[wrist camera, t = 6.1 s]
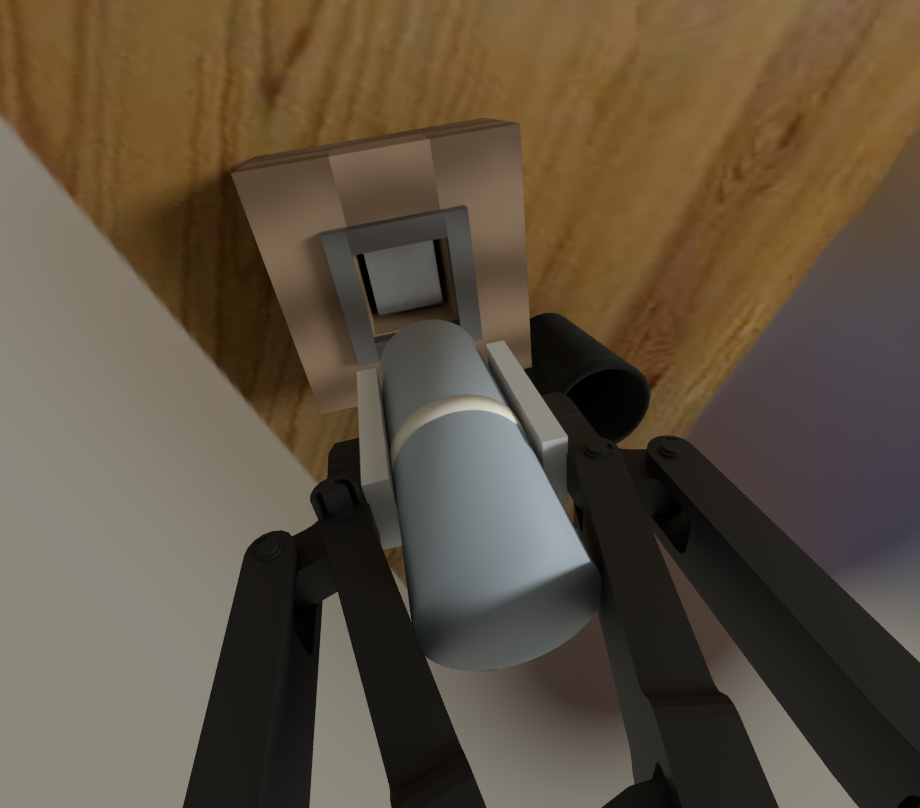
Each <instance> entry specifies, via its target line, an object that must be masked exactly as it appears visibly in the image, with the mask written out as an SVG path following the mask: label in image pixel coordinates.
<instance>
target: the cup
mask: <svg viewBox="0 0 920 808" xmlns="http://www.w3.org/2000/svg"><path fill="white" fill-rule="evenodd" d="M530 338H531V358H532V367H530V368H526V369H525V372H526V374H527V376H528V377H529V379H530V380H531V382H532V383H533V385H534V386H535V388H536V389H537V391H538V392H539V394H540V395H545V394H550V393H554V392H561V393H562V394H564V395H566V396H568V397H570V398H571V400H572V401H573V402H574V404H575V405H576V407H577V408H578V409H579V410H580V412H581V414H582V415H583V416H584V417H585V418H586V420H587V421H588V422H589V423H590V425H591V426H592V427H593V429H594V430H595V431H596V433H597V434H598V435H599V437H602V438H606V439H609V440H611V441H612V442H614V443H615V444H617V443H619V442H620V441H622V440H623V439H625V438H626V437H627V436H629V435H630V434H631V433H632V432H633V431H634V430H635V429H636V428H637V427H638V425H639V424H640V422H641V421H642V419H643V418H644V416H645V414H646V411H647V409H648V407H649V402H650V387H649V384H648V382H647V380H646V378H645V376H644V375H643V374H642V373H641V372H640V371H639V370H637V369H636V368H635V367H633V366H632V365H630V364H629V363H628V362H626V361H625V360H623V359H622V358H621V357H619V356H618V355H616V354H615V353H614V352H612V351H611V350H609V349H608V348H607V347H605V346H604V345H602V344H601V343H600V342H598V341H597V340H595V339H594V338H593V337H591V336H590V335H588V334H587V333H586V332H584V331H583V330H581V329H580V328H579V327H577V326H576V325H574V324H573V323H572V322H570V321H569V320H567V319H566V318H565V317H563V316H561V315H559V314H555V313H544V314H541V315H537V316H536V317H534V318H532V319H530Z"/></svg>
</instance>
